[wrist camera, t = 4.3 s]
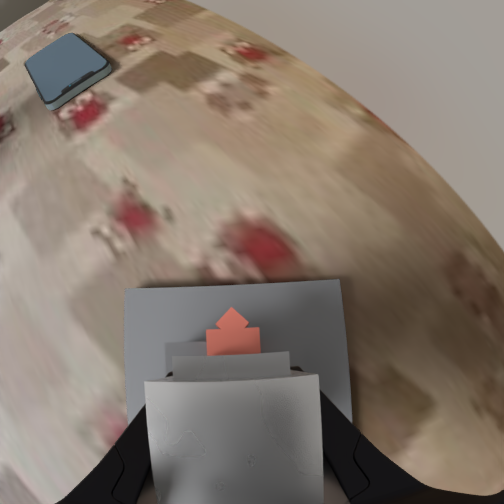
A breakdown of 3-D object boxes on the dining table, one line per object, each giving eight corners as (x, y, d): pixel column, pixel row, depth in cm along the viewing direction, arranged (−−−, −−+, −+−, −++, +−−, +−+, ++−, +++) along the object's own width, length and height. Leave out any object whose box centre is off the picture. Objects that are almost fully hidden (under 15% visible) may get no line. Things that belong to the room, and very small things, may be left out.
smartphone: (71, 29, 27) (112, 61, 23) (75, 39, 29) (117, 74, 25) (22, 62, 25) (44, 106, 21) (27, 70, 27) (51, 118, 23)
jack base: (346, 475, 14) (386, 512, 9) (142, 486, 14) (108, 526, 8) (333, 284, 18) (370, 251, 13) (131, 293, 18) (90, 263, 12)
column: (273, 427, 14) (328, 521, 4) (206, 430, 14) (157, 528, 4) (268, 356, 15) (321, 347, 6) (201, 359, 15) (138, 355, 5)
